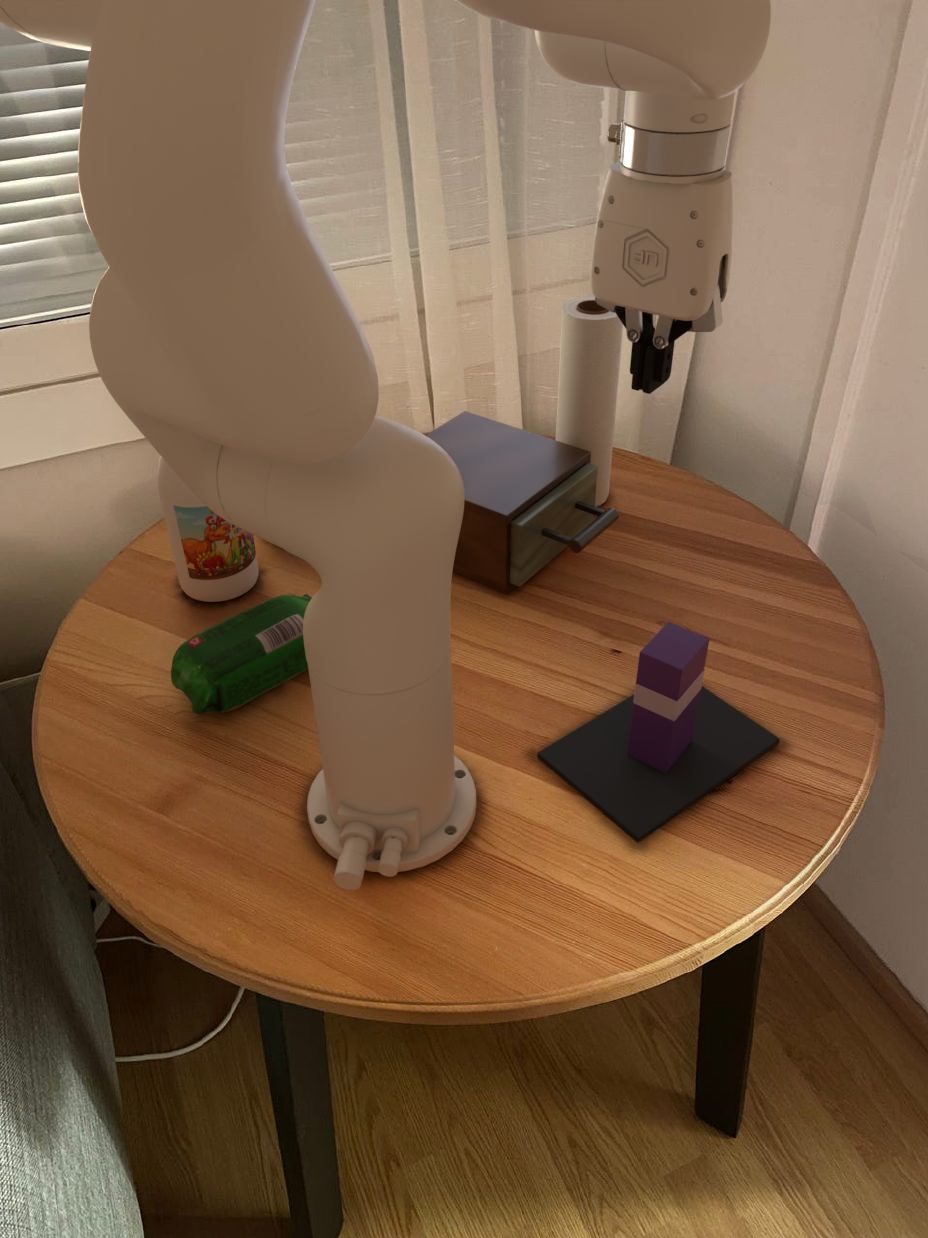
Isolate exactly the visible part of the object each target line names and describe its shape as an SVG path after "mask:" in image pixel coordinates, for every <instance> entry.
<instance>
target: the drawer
mask: <svg viewBox="0 0 928 1238" xmlns="http://www.w3.org/2000/svg"><path fill="white" fill-rule="evenodd" d="M597 471H598V466H596V465H593V464H590V463H587V464H586V465H584V466H583V467H582V468H580V469H579V470H578V471H577V472H575V473H574V474H573V475H570V476H568V477H567V478H566V479H564V480H563V481H562V482H561V483H559V484H558V485H557V486H555V487H554V488H553V489H551V490H550V491H549V492H548V493H546V494H545V495H544V496H542V497H541V498H540V499H538V500H537V501H536V502H535V503H533V504H532V505H531V506H529V507H528V508H527V509H525V510H524V511H523V512H522V513H520V514H519V515H518V516H516V517H515V518H514V519H512V522H511V540H510V583H512V584H514V585H515V587H519V588H520V587H522V586H523V585H524V584H525V583H526V582H527V581H528V580H530V579H531V578H532V577H533V576H534V575H536V574H537V573H538V572H539V571H541V570H542V569H543V568H544V567H545V566H546V565H547V564H549V563H550V562H551V561H552V560H553V559H555V558H556V557H557V556H558V555H559V554H560V553H561V552H563V551H564V550H565V549H566V548H569V550H570V551H571V552H573V553H574V554H579V553H581V552H582V551H584V549H585V548H587V547H588V546H589V545H590V544H591V543H592V542H594V541H595V539H597V538H598V537H599V536H600V535H602V533H604V532H605V531H606V530H607V529H608V528H609V527H611V526H612V525H613V524H614V523H615V522H616V521H618V519H619V517H620V515H619V512H618V510H617V509H615V508H614V507H609V508H607V509H603V508H600V507H599V506H596V507H595V497H596V484H597ZM595 516H596V518H595Z"/></svg>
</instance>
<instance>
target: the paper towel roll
mask: <svg viewBox="0 0 928 1238" xmlns="http://www.w3.org/2000/svg"><path fill="white" fill-rule="evenodd" d="M580 296H581V297H577V298H573V299H570V300H568V301H566V302H565V303H563V306H562V307H561V317H560V318H561V319H560V343H559V360H558V361H559V362H558V363H559V364H558V379H557V381H558V383H557V405H556V422H555V424H556V426H555V440H556V441H559V442H562V443H565V444H568V445H572V446H575V447H578V448H581V449H584V450H587V451H590V452H591V459H590V460H591V464H593V465H596V466H598V471H597V484H596V497H595V507H600V506H601V505H603V504H604V503H605V502H606V501H607V499H608V497H609V493H610V482H611V472H612V471H611V469H612V460H613V448H614V437H615V436H614V435H615V426H616V416H617V415H616V414H617V403H618V401H617V400H618V391H619V379H620V368H621V354H622V346H623V345H622V344H623V331H624V325H623V324H622V322H621V321H620V319H619V318H618V316H617V314H616V313H615V312H614V313H613V312H611V311H609V310H607V309H605V308H603V307H602V306H600V305H598V304H597V303H596V301H595V296H594V295H593V293H592V292H588V291H586V290H584V289H581V295H580Z"/></svg>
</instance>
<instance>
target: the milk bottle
mask: <svg viewBox="0 0 928 1238" xmlns="http://www.w3.org/2000/svg"><path fill="white" fill-rule="evenodd" d="M156 474H157V475H156V477H157V488H158V489H157V490H158V493H159V500H160V506H161V510H162V515H163V518H164V524H165V528H166V532H167V537H168V542H169V545H170V546H169V547H170V550H171V554H172V559H173V563H174V567H175V571H176V575H177V579H178V583H179V586H180V588H181V590H182V591H183V592H184V593H185V595H187V596H188V597H189V598H191V599H194V600H197V601H200V602H207V603H208V602H209V603H216V602H217V603H219V602H224V601H229V600H232V599H236V598H237V597H241V596H242V595H244V594H246V593H248V592H249V591H250V590H251V589H252V588H253V587H254V586H255V584H256V583H257V580H258V578H259V574H260V573H259V572H260V571H259V562H258V556H257V551H256V544H255V539H254V535H253V534H251V533H249V532H247V531H245V530H243V529H241V528H239V527H237V526H235V525H233V524H231V523H230V522H228V521H226V520H224V519H223V518H221V517H220V516H218V515H217V514H216V513H214V512H213V511H212V510H210V509H209V508H208V507H207V506H206V505H205V504H204V503H203V502H202V501H201V500H200V499H199V498H198V497H197V496H196V495H195V494H194V493H193V492H192V491H191V490H190V489H189V488H188V487H187V485H186V484H185V483H184V482H183V481H182V480H181V479H180V477H179V476H178V475H177V474H176V473H175V472H174V470H173V469H172V468H171V467H170V466H169V465H168V464H167V462H166V461H165V460H164V459H163V458H162V456H161V455H160V456H159V460H158V464H157V473H156Z"/></svg>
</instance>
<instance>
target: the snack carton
mask: <svg viewBox="0 0 928 1238" xmlns="http://www.w3.org/2000/svg"><path fill="white" fill-rule="evenodd" d="M709 644H710V637H708V636H706V635H703V634H700V633H698V632H695V631H693V630H691V629H688V628H685V627H683V626H680V625H678V624H675V623H673V622H671V621H667V622H666V623H665V624H664V625H663V627H661V629H660V630H659V631H658V632H657V633H656V634H655V635H654V636H653V637H652V638H651V639H650V641H648V643H646V644H645V646H644V647H643V648H642V649H641V650H640V651H639V654H638V655H639V656H638V663H637V664H638V665H637V670H636V671H637V672H636V678H635V684H634V693H633V695H634V700H633V712H632V720H631V728H630V736H629V745H628V753H627V755H629V756H631V757H633V758H635V759H637V760H639V761H641V762H643V763H646V764H648V765H650V766H652V767H654V768H656V769H658V770H660V771H662V772H664V773H666V772H667V771H668V770H669V769H670V767H671V766H672V765H673V764H674V762H675V761H676V760H677V759H678V757H679V756H680V755H681V754H682V752H683V751H684V750H685V748H686V747H687V746H688V745H689V743H690V742H691V741H692V737H693V731H694V725H695V719H696V714H697V708H698V702H699V697H700V691H701V688H702V686H703V680H704V675H705V668H706V667H705V666H706V662H707V655H708V650H709Z"/></svg>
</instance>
